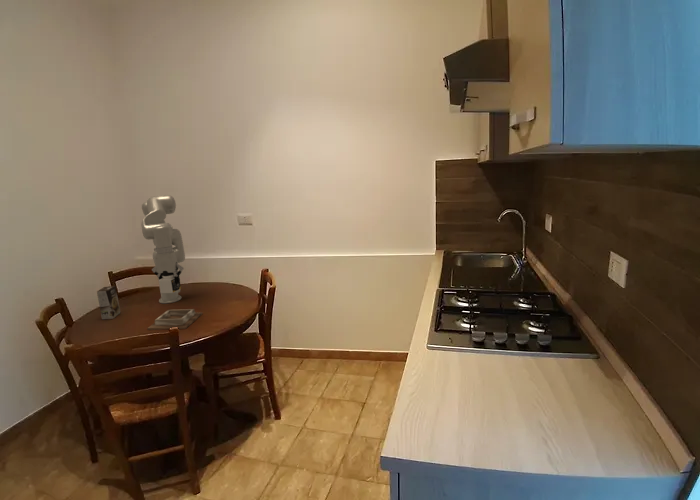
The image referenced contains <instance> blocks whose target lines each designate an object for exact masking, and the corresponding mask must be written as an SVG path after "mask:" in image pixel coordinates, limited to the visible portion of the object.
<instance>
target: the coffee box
mask: <svg viewBox="0 0 700 500" xmlns="http://www.w3.org/2000/svg"><path fill="white" fill-rule="evenodd" d="M96 294H97V300H98V305H99V311H100V316H101V320H111V319H115V318H116V317H117V316H118V315H120V314H121V307H120V303H119V297H118V293H117V286H116V285H109V286H104V287H102V288H100V289H99V290H97V291H96Z"/></svg>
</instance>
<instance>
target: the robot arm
mask: <svg viewBox="0 0 700 500" xmlns="http://www.w3.org/2000/svg"><path fill="white" fill-rule="evenodd" d="M176 206H177V204H176V200H175V198H174V197H173V196H172V195H170V194H167V195H166V194H165V195H156V196H150V197H149V198H147V200H146V201H145V202H143V203H142V204H141V209H142V212H143V215H144V217H143V218H142V221H141V232H142V236H143V238H144V239H146V240H148V241H151V240H152V243H153V246H155V248H153V250H154V252H153V253H152V260H153V262H154V267H152V268H151V271H152V273H153V274H154V275H155V276H157V280H158V282H159V279H162V278H163V277H162V273H163V271H167V272H168V273H174V275H175V283H176V284H178V283H180V284H181V279H180V276H181V274H182V272H183V270H184V269H185V268H184V266H182V265H181V264H179V263H182V262H184V261H185V259H186V253H185V248H184V243H183V237H182V233H181V231H180V230H179V229H177V228H173V226H172V224H171V223H169V222H166V220H165V219H166V218H167V215H171V214H174V213H175V211H176ZM173 246H174V247H173ZM158 287H159V288H160V284H159V283H158ZM159 291H160V298H159V299H158V303H160V304H171V303H176V302H179V301H180V300H182V296H181V295H179V293H181V289H180V290H178V291H176V292H174V293H161V290H160V289H159Z"/></svg>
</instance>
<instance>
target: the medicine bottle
mask: <svg viewBox="0 0 700 500" xmlns="http://www.w3.org/2000/svg"><path fill="white" fill-rule="evenodd" d="M162 277H163V278H162V279H159V281H158V285H159V284H160V287H159V291H160V290H161V293H174V292H176V291H178V290H180V291H181V289H182V287H181V282H180V283H178V284H176V283H175V275H174V273H168V272H167V271H163V273H162ZM161 293H160V294H161Z"/></svg>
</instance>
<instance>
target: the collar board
mask: <svg viewBox="0 0 700 500" xmlns="http://www.w3.org/2000/svg"><path fill="white" fill-rule="evenodd" d="M202 315H203V312H202V311H200V312H196V310H195V308H187V309H186V308H185V309H183V308H182V309H167V310H166V311H165V312H163V313H162V314H160V316H158V317H156V319H154V322H153V323H152V324H151V325H150V326H147V331H153V330H170V329H169V328H172V327H178V328H179V329H178V330H187V329H188V328H189V327H190V326H191V325H192V324H193V323H195V321H197V320H198V319H199V318H200V317H201V316H202Z"/></svg>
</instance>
